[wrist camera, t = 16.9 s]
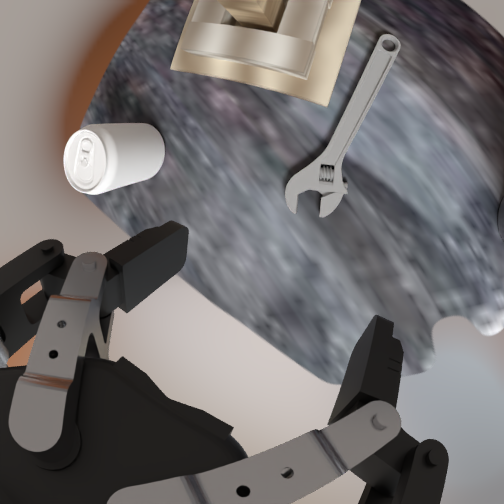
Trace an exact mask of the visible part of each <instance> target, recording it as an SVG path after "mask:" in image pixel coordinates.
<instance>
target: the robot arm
mask: <svg viewBox="0 0 504 504" xmlns="http://www.w3.org/2000/svg"><path fill="white" fill-rule="evenodd" d="M498 228H499V233H500V236H501V238H502V240H503V241H504V197H503V200H502V202H501V204H500V208H499V213H498ZM188 234H189V231H188V228H187V227H185V226H183V225H181V224H179V223H177V222H174V221H169V222H167V223H165V224H164V225H162V226H160V227H154V228H150V229H146V230H144V231H142V232H140V233H139V234H137V235H136V236H134V237H132V238H130V239H129V240H127V241H125V242H123V243H122V244H120V245H118V246H117V247H115V248H113V249H112V250H110V251H108V252H107V253H105V254H103V255H102V254H101V253H97V252H87V253H83V254H81V255H79V256H77V257H74V256H71V255H68V254H65V253H64V249H63V244H62V243H61V242H60V241H58V240H54V239H50V240H45V241H42V242H40V243H38V244H36V245H35V246H33V247H32V248H30V249H29V250H27V251H25V252H24V253H22V254H21V255H19V256H17V257H16V258H14V259H13V260H11V261H10V262H8V263H7V264H5V265H4V266H2V267H1V268H0V504H291V503H293V502H295V501H296V500H298V499H301V498H302V497H304V496H306V495H308V494H310V493H312V492H314V491H316V490H317V489H319V488H321V487H323V486H324V485H326V484H328V483H329V482H331V481H333V480H335V479H336V478H338V477H339V476H341V475H343V474H344V473H346V472H347V471H348V470H350V471H351V472H353V473H354V474H355V475H357V476H358V477H359V478H361V479H362V480H363V481H365V482H366V486H365V489H364V491H363V493H362V496H361V498H360V500H359V503H358V504H440V501H441V497H442V492H443V488H444V484H445V479H446V474H447V469H448V462H449V458H448V453H447V450H446V448H445V447H444V446H443V444H442V443H440V442H439V441H437V440H434V439H427V440H424V441H423V442H421V443H419V442H418V441H417V440H415V439H414V438H413V437H411V436H410V435H409V434H407V433H406V432H405V431H404V430H403V429H402V428H401V418H400V415H399V413H398V412H397V410H396V404H397V398H398V392H399V385H400V378H401V375H400V374H401V371H402V362H403V353H404V352H403V349H402V346H401V342H400V340H398V339H396V338H393V337H392V335H393V327H394V323H393V322H392V321H389V320H387V319H385V318H383V317H381V316H378V315H375V316H374V317H373V319H372V320H371V322H370V323H369V325H368V327H367V328H366V330H365V331H364V333H363V334H362V336H361V337H360V339H359V340H358V342H357V344H356V345H355V347H354V349H353V352H352V354H351V357H350V360H349V364H348V367H347V370H346V373H345V376H344V379H343V382H342V385H341V388H340V392H339V394H338V398H337V400H336V403H335V406H334V408H333V411H332V414H331V417H330V419H329V422H328V425H329V426H328V427H326V428H324V429H322V430H316V429H315V430H312V431H310V432H307V433H305V434H303V435H301V436H299V437H297V438H294V439H292V440H290V441H288V442H285V443H283V444H281V445H278V446H276V447H274V448H272V449H269V450H266V451H264V452H261V453H259V454H256V455H254V456H251V457H248V456H247V454H246V452H245V451H244V449H243V448H242V446H241V445H240V444H239V443H238V442H237V441H236V440H235V439H234V438H233V437H232V436H231V432H232V430H233V428H234V427H232V426H230V425H228V424H226V423H225V422H223V421H221V420H219V419H217V418H216V417H214V416H212V415H210V414H209V413H207V412H205V411H203V410H200V409H197V408H194V407H191V406H188V405H185V404H183V403H180V402H177V401H174V400H171V399H169V398H168V397H166V396H165V394H164V393H163V392H162V391H161V390H160V389H159V388H158V387H157V386H156V385H155V383H154V382H153V381H152V380H151V379H150V377H149V376H148V375H147V374H146V373H145V372H143V371H142V370H140V369H139V368H138V367H136V366H135V365H134V364H132V363H131V362H130V361H128V360H127V359H125V358H124V357H121V358H120V359H119V360H118V361H117V362H114V361H111V360H109V356H108V355H109V354H108V353H109V344H110V337H111V331H112V325H113V319H114V310H115V309H116V308H117V307H119V308H120V309H122V310H123V311H125V312H126V313H128V312H129V311H130V310H132V309H133V308H134V307H135V306H137V305H138V304H139V303H140V302H141V301H143V300H144V299H145V298H146V297H148V296H149V295H150V294H151V293H153V292H154V291H155V290H156V289H158V288H159V287H160V286H161V285H162V284H164V283H165V282H166V281H168V280H169V279H170V278H171V277H173V276H174V275H175V274H176V273H178V272H179V271H180V270H181V269H182V267H183V266H184V264H185V261H186V254H187V244H188ZM39 280H40V282H41V285H42V290H41V291H39V292H38V293H37V294H36V295H34V296H33V297H31V298H30V299H29V300H28V301H26V302H25V303H24V304H21V301H20V298H21V294H22V293H23V292H24V291H25V290H26V289H28V288H29V287H30V286H32V285H33V284H34V283H36V282H37V281H39ZM34 335H36V338H35V340H34V344H33V347H32V350H31V353H30V357H29V361H28V364H27V365H26V366H17V367H8V365H7V364H6V363H7V361H8V359H9V358H10V357H11V356H12V355H13V354H14V353H15V352H16V351H18V350H19V349H20V348H21V347H22V346H23V345H24V344H25V343H27V342H28V341H29V340H30V339H31V338H32V337H34Z"/></svg>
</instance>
